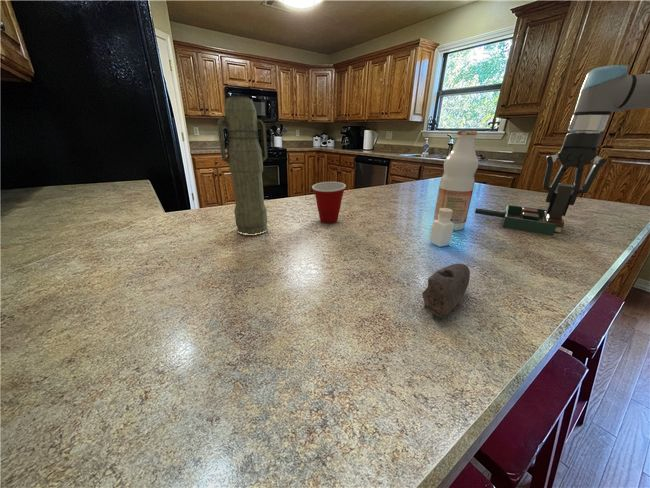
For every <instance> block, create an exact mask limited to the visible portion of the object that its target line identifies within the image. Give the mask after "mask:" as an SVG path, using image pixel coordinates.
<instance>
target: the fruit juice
mask: <svg viewBox="0 0 650 488" xmlns="http://www.w3.org/2000/svg"><path fill="white" fill-rule="evenodd" d="M477 134H478V131H477V130H457V133H456V137H457V139H456V142H455V144H454V145H453V147H452V149H451V151H450V152H449V154H448V155H447V156H446V158H444V161H443V174H442V175H441V177H440V182H439V184H438V191H437V197H436V202H435V208H434V214H433V219H432V223H433V222H434V221H435V220H438V214H439V209H440V208H448V209H451V210H453V212H452V217H451V220H450V221H451V222H452V223H453V224H454V228H453V231H461V230H463V229H464V228H465V227H466V222H467V219H468V214H469V210H470V205H471V202H472V197H473V193H474V188H475V174H476V172H477V170H478V168H479V157H478V156H477V153H476V147H475V145H476V144H475V139H476V138H477Z"/></svg>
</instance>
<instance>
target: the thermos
mask: <svg viewBox="0 0 650 488" xmlns="http://www.w3.org/2000/svg"><path fill="white" fill-rule="evenodd" d="M224 115H225V116H223V117H219V119H218V121H217V123H216V127H217V134H218V142H219V148H220V149H219V150H220V155H221V160H222V162H224V163H225V162H226V163H227V164H228V168H229V171H230V174H231V178H232V185H233V186H232V187H233V194H234V202H235V207H234V218H235V219H234V220H235V225H236V228H237V234H238V236H239V235H240V236H242V237H259V236H262V235H265V234H266V233H267V232H268V209H267V207H266V205H265V197H264V184H263V172H264V161H265V162H266V160H267V159H269V155H268V153H269V152H268V140H267V139H268V137H267V128H266V127H267V126H266V124H265V122H264V120H263V119H260V118H258V116H257V115H258V114H257V109H256V105H255V103H254V100H253V99H252V98H250V97H249V96H245V95H232V96H231V95H230V96H229V97H227V98H226V100H225V105H224ZM223 123H225V125H226V131H227V134H228V135H227V136H228V137H227V141H228V143H227V148H225V147H226V146H225V140H224V139H225V138H224V131H223ZM258 124H259V126H260V137H261V144H260V141H259V137H258V132H259V128H258ZM226 153H227V155H226ZM266 229H267V231H266V232H264V233H261V234H257V235H243V234H240V233H238V231H239V232H242V233H248V234H255V233H260V232H263V231H265V230H266Z"/></svg>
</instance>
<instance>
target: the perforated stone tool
mask: <svg viewBox="0 0 650 488" xmlns="http://www.w3.org/2000/svg"><path fill="white" fill-rule="evenodd" d="M470 278H471V270H470V267H469V266H468V265H466V264H464V263H453V264H450V265H447V266H445V267H442V268H440V269H439V270H436V271H435V272H434V273H432V275H430V276H429V277H428V278H427V287H426V288H425V289H424V290H423V291H422V293H421V295H422V299H423V302H424V303H423V304H424V305H423V306H424V308H425V309H426V310H428V312H429V313H432V314H433V315H434V316H436V317H437V318H439V319H442V318H444V317H446V316H447V315H448V314H449V313H451V312H452V311H453V310H454V309H455V307H456V306H457V305H458V304H459V302H461V300H462V298H463V296H464V295H465V293H466V290H467V289H468V286H469V283H470Z"/></svg>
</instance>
